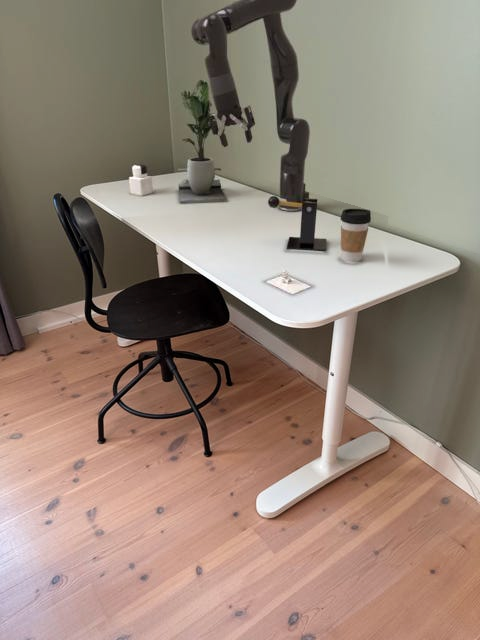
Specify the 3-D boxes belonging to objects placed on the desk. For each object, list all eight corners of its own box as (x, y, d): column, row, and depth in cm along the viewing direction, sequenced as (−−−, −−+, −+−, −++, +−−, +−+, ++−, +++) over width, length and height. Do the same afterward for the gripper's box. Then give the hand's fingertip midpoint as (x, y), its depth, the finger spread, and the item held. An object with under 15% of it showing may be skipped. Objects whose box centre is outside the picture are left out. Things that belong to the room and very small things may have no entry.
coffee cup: (359, 267, 136) (366, 216, 129) (331, 262, 140) (336, 212, 133) (369, 258, 143) (376, 209, 135) (342, 253, 147) (347, 204, 139)
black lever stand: (286, 251, 148) (288, 204, 141) (289, 240, 157) (291, 195, 149) (325, 253, 146) (329, 206, 139) (326, 242, 155) (330, 197, 148)
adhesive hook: (286, 279, 130) (286, 268, 128) (293, 282, 128) (293, 271, 126) (278, 282, 128) (278, 271, 126) (285, 285, 126) (285, 274, 125)
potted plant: (178, 190, 214) (171, 78, 192) (220, 188, 217) (217, 78, 194) (180, 203, 195) (172, 81, 173) (225, 201, 198) (223, 80, 176)
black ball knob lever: (266, 208, 146) (268, 197, 144) (268, 205, 149) (269, 194, 147) (313, 214, 144) (314, 202, 142) (313, 211, 147) (315, 199, 146)
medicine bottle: (142, 190, 214) (139, 162, 208) (153, 192, 211) (151, 164, 205) (130, 193, 209) (127, 165, 203) (141, 196, 206) (138, 167, 200)
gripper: (249, 83, 145) (261, 137, 153) (208, 92, 151) (222, 144, 159) (240, 88, 139) (253, 144, 148) (198, 98, 146) (213, 151, 154)
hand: (237, 144), depth 153 cm, fingers open, 8 cm apart
